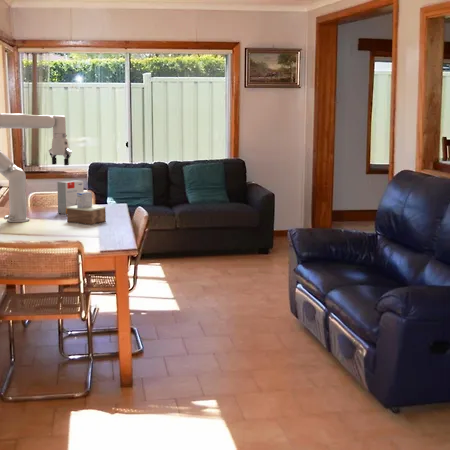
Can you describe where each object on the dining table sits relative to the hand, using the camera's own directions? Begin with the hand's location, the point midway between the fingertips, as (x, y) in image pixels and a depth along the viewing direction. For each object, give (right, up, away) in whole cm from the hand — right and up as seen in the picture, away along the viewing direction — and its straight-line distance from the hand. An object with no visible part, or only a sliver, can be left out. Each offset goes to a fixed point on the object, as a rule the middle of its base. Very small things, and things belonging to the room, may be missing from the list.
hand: (60, 164), depth 431 cm
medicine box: (+17, -26, -10) cm, 32 cm away
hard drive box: (+1, -28, +26) cm, 38 cm away
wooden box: (+17, -34, -8) cm, 39 cm away
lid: (+17, -26, -9) cm, 33 cm away
